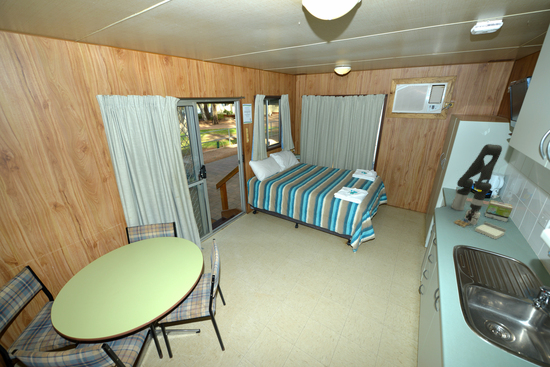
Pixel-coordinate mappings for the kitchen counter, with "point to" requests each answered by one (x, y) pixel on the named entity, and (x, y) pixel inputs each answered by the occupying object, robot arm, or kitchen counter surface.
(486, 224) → the dock
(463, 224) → the pallet
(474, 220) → the ink box
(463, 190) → the robot arm
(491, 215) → the tea box
